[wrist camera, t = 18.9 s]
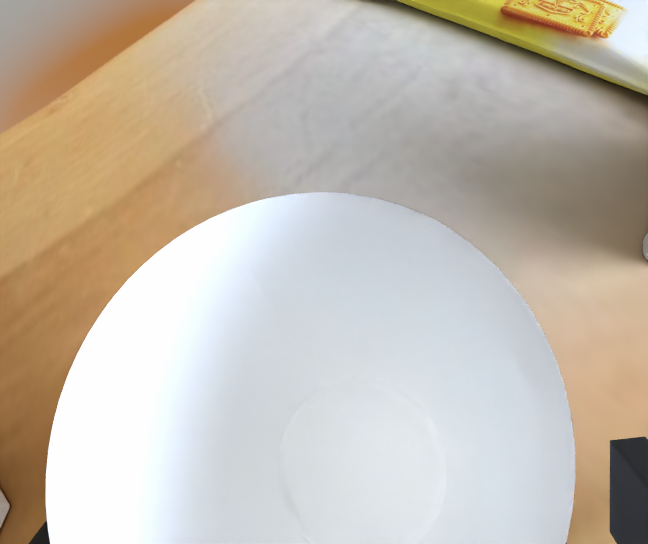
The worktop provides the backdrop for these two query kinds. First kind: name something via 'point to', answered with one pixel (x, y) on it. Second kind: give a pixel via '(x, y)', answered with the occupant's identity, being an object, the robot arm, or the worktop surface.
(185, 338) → the cup
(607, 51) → the food package
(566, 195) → the worktop surface
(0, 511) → the jar
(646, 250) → the tall pale column
